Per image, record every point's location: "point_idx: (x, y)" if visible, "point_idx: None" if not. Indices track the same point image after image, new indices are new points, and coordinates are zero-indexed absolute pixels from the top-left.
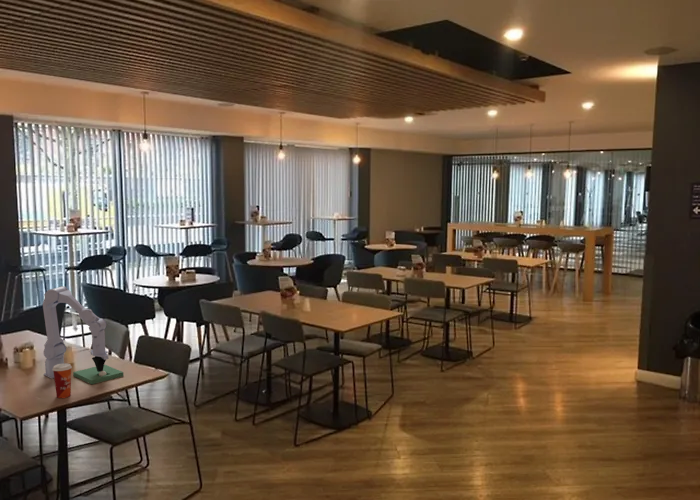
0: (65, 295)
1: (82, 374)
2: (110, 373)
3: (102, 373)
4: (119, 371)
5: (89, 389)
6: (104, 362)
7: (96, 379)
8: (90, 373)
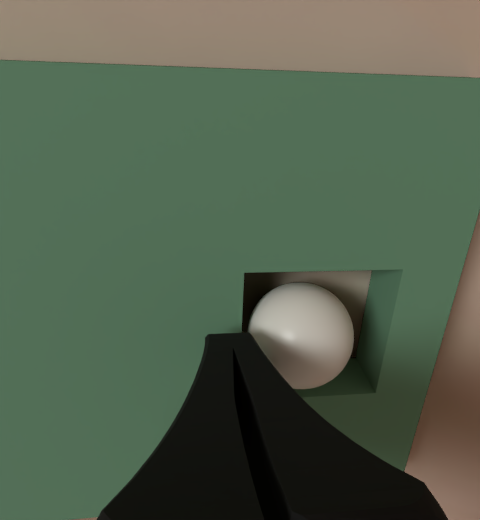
0: None
1: (108, 493)
2: (378, 258)
3: (343, 368)
4: (424, 107)
5: (473, 492)
6: (332, 431)
7: (407, 443)
8: (141, 427)
